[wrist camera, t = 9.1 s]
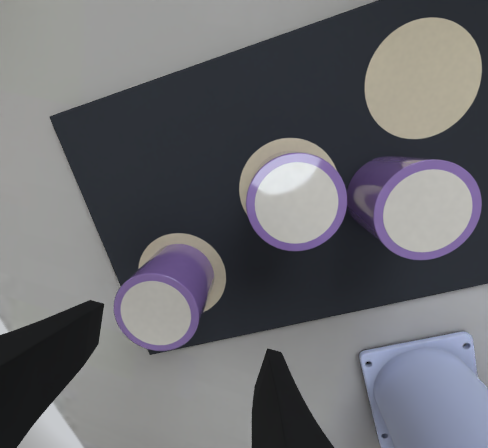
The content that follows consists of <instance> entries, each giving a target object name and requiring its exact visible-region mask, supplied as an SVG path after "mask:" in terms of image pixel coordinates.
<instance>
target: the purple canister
mask: <svg viewBox="0 0 488 448" xmlns="http://www.w3.org/2000/svg"><path fill="white" fill-rule="evenodd" d="M213 285H214V271H213V267H212V265H211V263H210V261H209V260H208V258H207V257H206V256H205V255H204V254H203V253H202V252H201V251H199V250H198V249H196V248H194V247H192V246H189V245H185V244H171V245H167V246H165V247H163V248H161V249H160V250H158V251H157V252H156V253H155V254H154V255H153V256H152V257H151V258H150V259H149V260H148V261H147V262H146V263H144V264H143V265H142V266H141V267H140V268H139V269H138V270H137V271H136V272H135V273H134V274H133V275H132V276H131V277H130V278H129V279H128V280H127V281H126V282H125V283H124V284H123V285H122V286H121V287H120V288H119V290H118V292H117V294H116V297H115V301H114V315H115V319H116V321H117V324H118V326H119V328H120V329H121V330H122V332H123V333H124V334H125V335H126V336H127V337H128V338H129V339H130V340H131V341H133V342H134V343H136V344H137V345H139V346H141V347H144V348H146V349H150V350H155V351H167V350H172V349H176V348H178V347H180V346H182V345H184V344H185V343H187V342H188V341H189V340H190V339H191V338H192V337H193V335H194V334H195V332H196V330H197V327H198V325H199V322H200V320H201V317H202V314H203V312H204V309H205V306H206V304H207V301H208V299H209V296H210V293H211V291H212V288H213Z"/></svg>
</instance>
